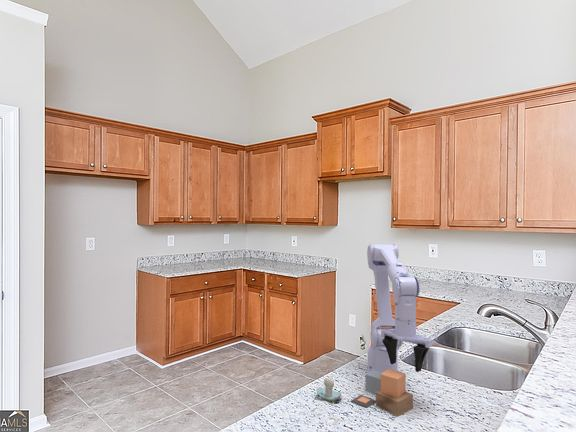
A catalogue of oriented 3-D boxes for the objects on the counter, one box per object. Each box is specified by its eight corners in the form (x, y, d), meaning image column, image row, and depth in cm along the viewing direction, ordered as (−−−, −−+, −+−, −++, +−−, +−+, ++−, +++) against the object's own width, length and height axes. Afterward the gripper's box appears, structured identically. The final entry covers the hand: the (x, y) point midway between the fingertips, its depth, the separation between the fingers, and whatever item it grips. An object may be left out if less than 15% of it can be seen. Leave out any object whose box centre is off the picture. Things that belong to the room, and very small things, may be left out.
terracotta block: (380, 392, 99) (380, 374, 100) (388, 386, 103) (388, 368, 103) (397, 398, 96) (397, 379, 96) (405, 391, 100) (405, 373, 100)
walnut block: (376, 407, 99) (376, 392, 99) (391, 399, 104) (391, 385, 104) (398, 417, 94) (398, 402, 94) (412, 409, 98) (412, 394, 98)
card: (351, 401, 101) (351, 399, 101) (361, 396, 105) (361, 394, 105) (366, 408, 98) (366, 405, 98) (376, 401, 102) (376, 399, 102)
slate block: (365, 391, 109) (365, 374, 109) (374, 386, 112) (374, 369, 112) (380, 396, 105) (380, 379, 105) (388, 391, 109) (388, 374, 109)
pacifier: (323, 391, 108) (314, 398, 103) (323, 370, 109) (314, 376, 104) (346, 397, 104) (337, 405, 99) (346, 375, 105) (338, 382, 100)
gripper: (375, 316, 105) (375, 363, 105) (423, 326, 95) (424, 378, 94) (387, 312, 110) (387, 357, 110) (435, 321, 100) (435, 371, 99)
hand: (405, 367), depth 102 cm, fingers open, 7 cm apart
